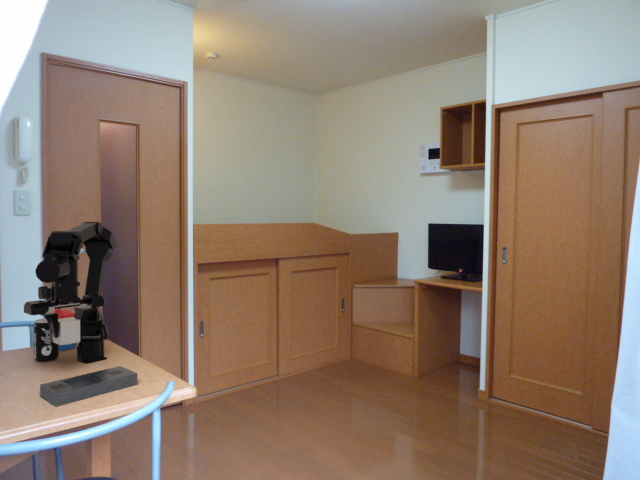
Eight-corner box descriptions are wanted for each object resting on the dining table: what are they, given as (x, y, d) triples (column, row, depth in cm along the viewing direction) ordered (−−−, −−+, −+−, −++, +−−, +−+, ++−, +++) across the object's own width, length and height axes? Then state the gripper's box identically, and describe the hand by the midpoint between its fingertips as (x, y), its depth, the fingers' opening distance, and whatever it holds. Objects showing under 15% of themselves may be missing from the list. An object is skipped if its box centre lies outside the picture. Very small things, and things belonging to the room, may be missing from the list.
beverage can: (63, 357, 149) (63, 318, 148) (45, 363, 143) (44, 323, 142) (47, 355, 151) (47, 317, 151) (28, 361, 145) (28, 321, 144)
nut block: (72, 338, 133) (72, 316, 133) (80, 341, 130) (80, 319, 130) (52, 341, 130) (52, 319, 129) (60, 345, 126) (60, 322, 126)
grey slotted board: (120, 376, 132) (120, 365, 132) (137, 384, 126) (137, 373, 126) (40, 396, 117) (40, 384, 117) (55, 406, 111) (55, 393, 111)
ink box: (76, 348, 159) (76, 304, 158) (60, 351, 156) (60, 306, 155) (66, 343, 165) (66, 300, 164) (51, 346, 161) (50, 302, 161)
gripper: (87, 272, 141) (88, 325, 142) (15, 278, 127) (16, 337, 128) (105, 276, 134) (106, 332, 135) (31, 282, 120) (32, 344, 121)
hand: (66, 336), depth 130 cm, fingers closed on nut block, 5 cm apart
